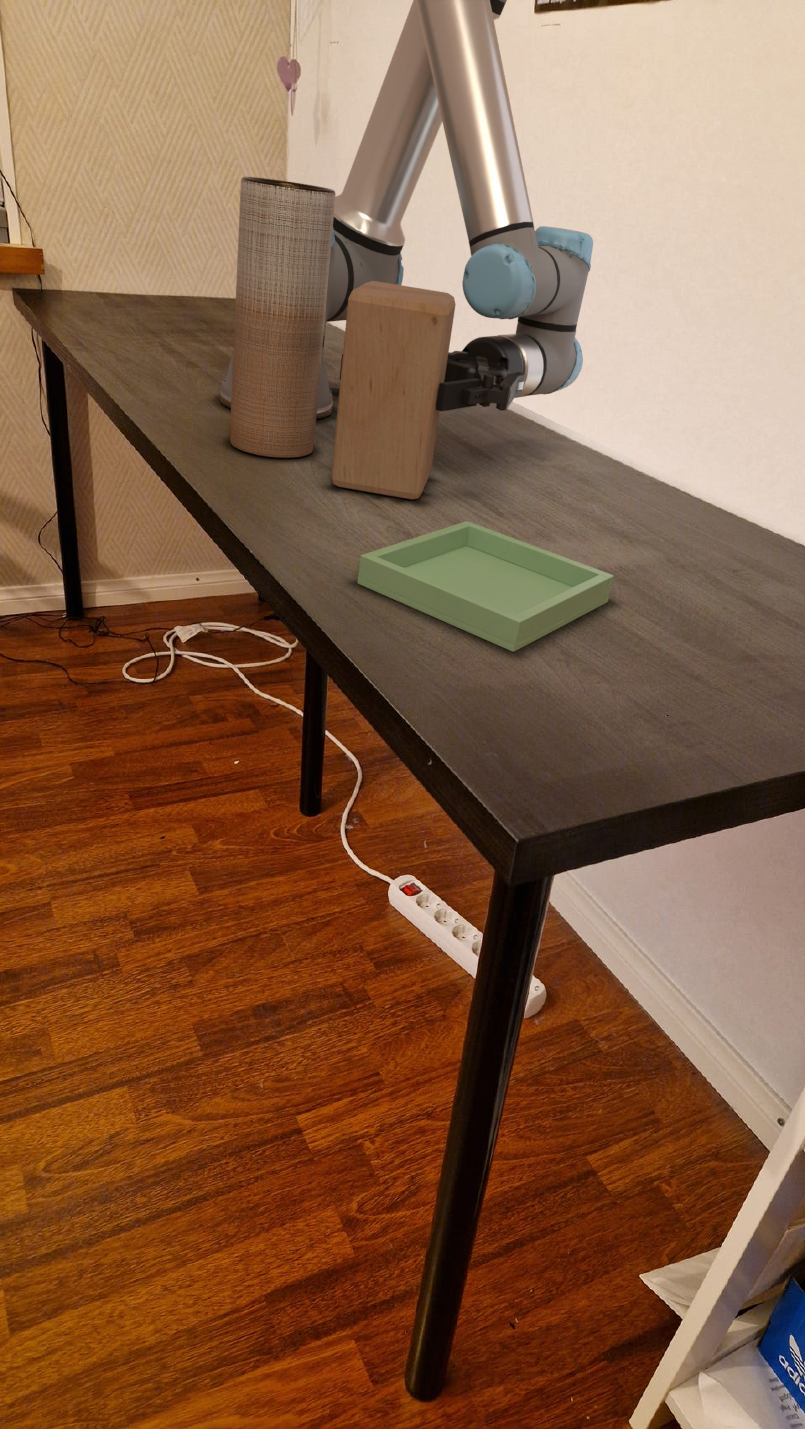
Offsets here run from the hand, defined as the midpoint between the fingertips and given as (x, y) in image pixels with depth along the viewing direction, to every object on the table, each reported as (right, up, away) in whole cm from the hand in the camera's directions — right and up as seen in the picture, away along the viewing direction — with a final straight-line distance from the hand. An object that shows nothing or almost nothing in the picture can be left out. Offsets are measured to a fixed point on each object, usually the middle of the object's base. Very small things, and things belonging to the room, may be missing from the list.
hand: (390, 382), depth 102 cm
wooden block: (-1, -9, +6) cm, 11 cm away
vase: (-14, -3, +13) cm, 20 cm away
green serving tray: (+8, -25, -18) cm, 31 cm away
